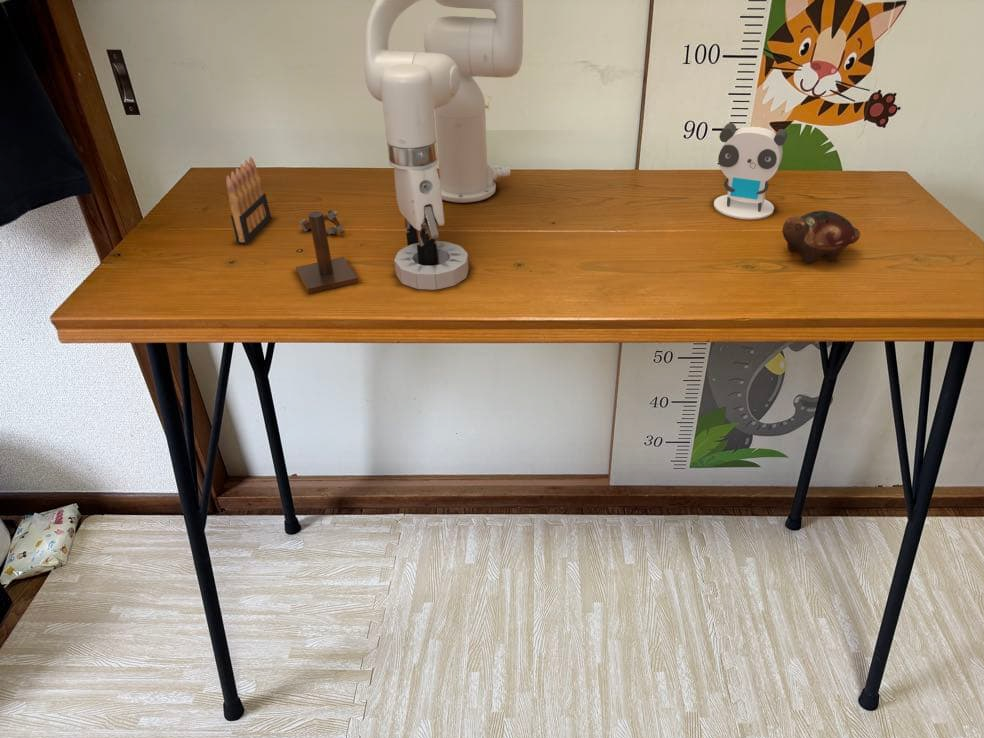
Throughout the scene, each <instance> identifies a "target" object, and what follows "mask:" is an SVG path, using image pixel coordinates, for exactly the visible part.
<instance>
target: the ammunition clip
mask: <svg viewBox="0 0 984 738" xmlns="http://www.w3.org/2000/svg"><path fill="white" fill-rule="evenodd" d="M226 189H227V194H228V202H229V207H230V211H231V215H230V218H231V223H232V228H233V230H234V235H235V239H236V240H235V241H236V243H237V244H245V245H246V244H249V243H250V242H251V241H252V240H253V239H254V238H255V237H256V236H257V235H258V234H259V233H260V232H261V231H262V230H263V229H264V227H266V225H268V223H269V222H270V221H271V220H272V215H271V211H270V207H269V202H268V199H267V195H266V192H264V189H263V185H262V180H261V178H260V176H259V173H258V168H257V166H256V162H255V161H254V159H253V157H252V156H249V158H248V160H246V159H245V160H244V165H243V164H242V163H241V164H240V166H239V168H238V167H236V168H235V172H234V170H233V171H231V172H230V176H229V174H228V175H226Z"/></svg>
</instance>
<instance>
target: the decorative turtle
mask: <svg viewBox="0 0 984 738" xmlns="http://www.w3.org/2000/svg"><path fill="white" fill-rule="evenodd" d="M781 232H782V236H783V238H784V240H785V241H786V246H787V250H788V252H790V253H797V252H799V254H800V256H801V257H802V260H803V262H804V263H805V264H806V265H810V264H811V265H812V264H813V263H815V262H816V261H817V260H819V259H820V258H821V257H824V258H825V259H826V261H828V262H830V263H831V262H834V261H835V260H836V259H837V258H838V257H839V256H840V255H841V254H842V252H843V251H844V250H845V249H846V248H847V247H848V246H850V245H853V244H855V243H856V242H857V241H858V240H859V239H860V237H861V232H860V230H859V229H858V228H857V227H854V226H853V224H852V223H851V222H850V220H848V219H847V218H846V217H844V216H842V215H840V214H838V213H837V212H833V211H827V210H815V211H811V212H808V213H805V214H803V215H801V216H798V215H793V216H790V217H788V218H787V219H786V221H784V223H783V226H782V229H781Z"/></svg>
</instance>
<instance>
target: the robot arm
mask: <svg viewBox="0 0 984 738" xmlns="http://www.w3.org/2000/svg"><path fill="white" fill-rule="evenodd" d="M419 1H421V0H375V2H374V4H373V6H372V8H371V10H370V13H369V15H368V18H367V22H366V26H365V32H364V75H365V77H364V78H365V84H366V87H367V90H368V92H369V94H370V95H371V96H372V98H374V99H375V100H377V101H379V102H382V110H383V111H382V112H383V119H384V128H385V136H386V147H387V154H388V155H387V156H388V162H389V165H390V166H391V167H393V172H394V173H393V174H394V187H395V197H396V203H397V208H398V210H399V212H400V214H401V216H403V218H404V227H405V231H406V232H405V235H406V244H407V245H406V246H409V245H411V244H415V243H419V245H417V252H418V262H419V264H420V265H423V266H435V265H439V264H438V256H437V241H438V240H437V239H438V238H439V237H440V235H439V231H438V227H444V225H445V213H444V205H443V201H446V202H450V203H461V204H462V203H463V204H464V203H465V204H467V203H476V202H480V201H483V200H486V199H488V198H490V197H492V196H493V195H494V194H495V193H496V190H497V184H496V182H495V181H497V179H499V178H507V177H510V176H511V168H510V167H509V166H503V167H500V166H499V164H493V165H488V147H487V146H488V145H487V118H486V116H487V115H486V114H487V113H486V99H485V96H484V93H483V92H482V90H481V88H480V87H479V85H478V83H477V82H476V80H475V79H474V78H473V77H478V78H479V77H481V78H501V79H502V78H503V79H504V78H511V77H514V76H516V75H517V74H518V73H519V72H520V70H521V67H522V64H523V63H522V62H523V53H524V0H434V1H435V2H436V3H437V4H439V5H440V6H443V7H448V8H455V9H472V10H490V11H493V13H494V15H495V17H494V18H493V17H476V16H457V15H455V16H454V15H452V16H451V15H450V16H441V17H437V18H435V19H433V20H432V21H430V22H429V24H427V26H426V28H425V31H424V34H423V46H424V47H423V49H424V52H423V51H413V50H411V51H409V50H389V41H390V40H389V39H390V34H391V31H392V28H393V26H394V24H395V22H396V20H397V19H398V18H399V17H400V15H402V13H403V12H405V11H406V10H407V9H408V8H410V7H411V6H413V5H414V4H416V3H418V2H419ZM437 164H438V168H437ZM437 226H438V227H437ZM426 231H427V232H426Z"/></svg>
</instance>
